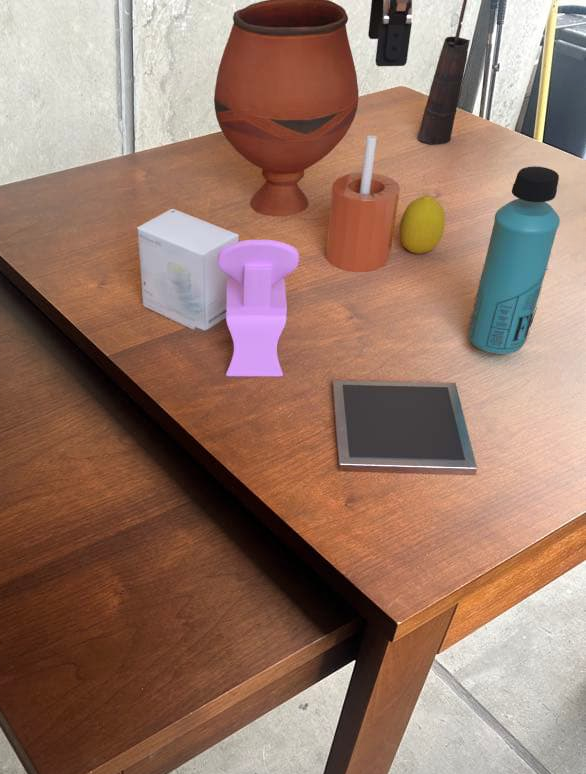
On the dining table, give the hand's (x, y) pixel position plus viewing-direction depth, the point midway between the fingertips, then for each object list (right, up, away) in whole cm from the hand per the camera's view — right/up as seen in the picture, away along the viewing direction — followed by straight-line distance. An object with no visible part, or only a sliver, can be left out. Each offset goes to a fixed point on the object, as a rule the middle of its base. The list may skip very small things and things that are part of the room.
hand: (386, 51), depth 95 cm
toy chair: (-14, -33, +4) cm, 36 cm away
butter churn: (+18, +11, +46) cm, 50 cm away
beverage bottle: (+13, -32, +3) cm, 35 cm away
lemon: (+9, -16, +19) cm, 26 cm away
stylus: (0, -17, +17) cm, 24 cm away
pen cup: (0, -17, +18) cm, 25 cm away
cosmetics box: (-22, -26, +10) cm, 35 cm away
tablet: (0, -42, -7) cm, 43 cm away
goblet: (-8, -6, +30) cm, 32 cm away
